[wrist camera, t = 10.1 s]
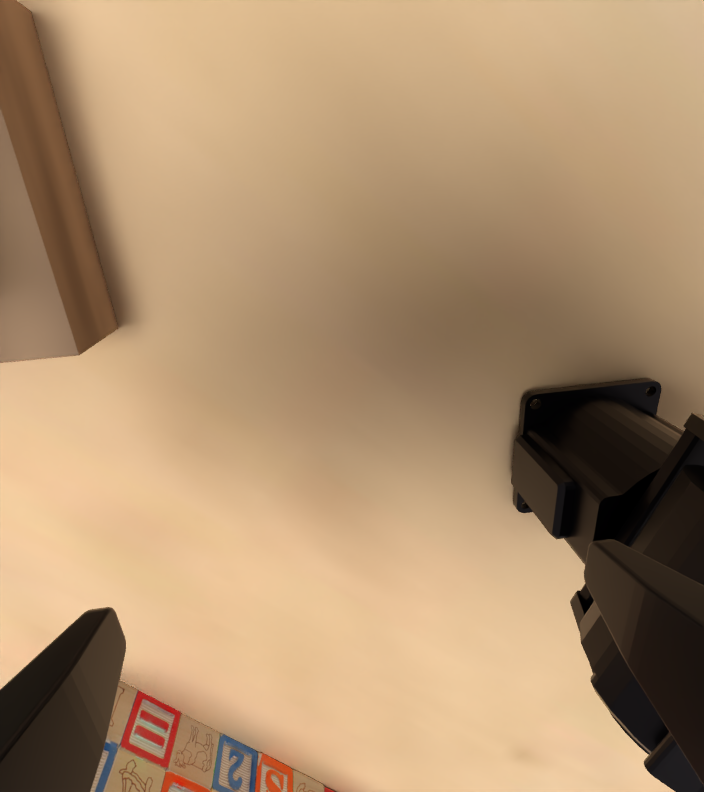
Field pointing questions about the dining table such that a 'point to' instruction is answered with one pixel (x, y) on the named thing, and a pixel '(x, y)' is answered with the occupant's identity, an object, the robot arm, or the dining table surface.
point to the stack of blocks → (183, 755)
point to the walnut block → (41, 214)
